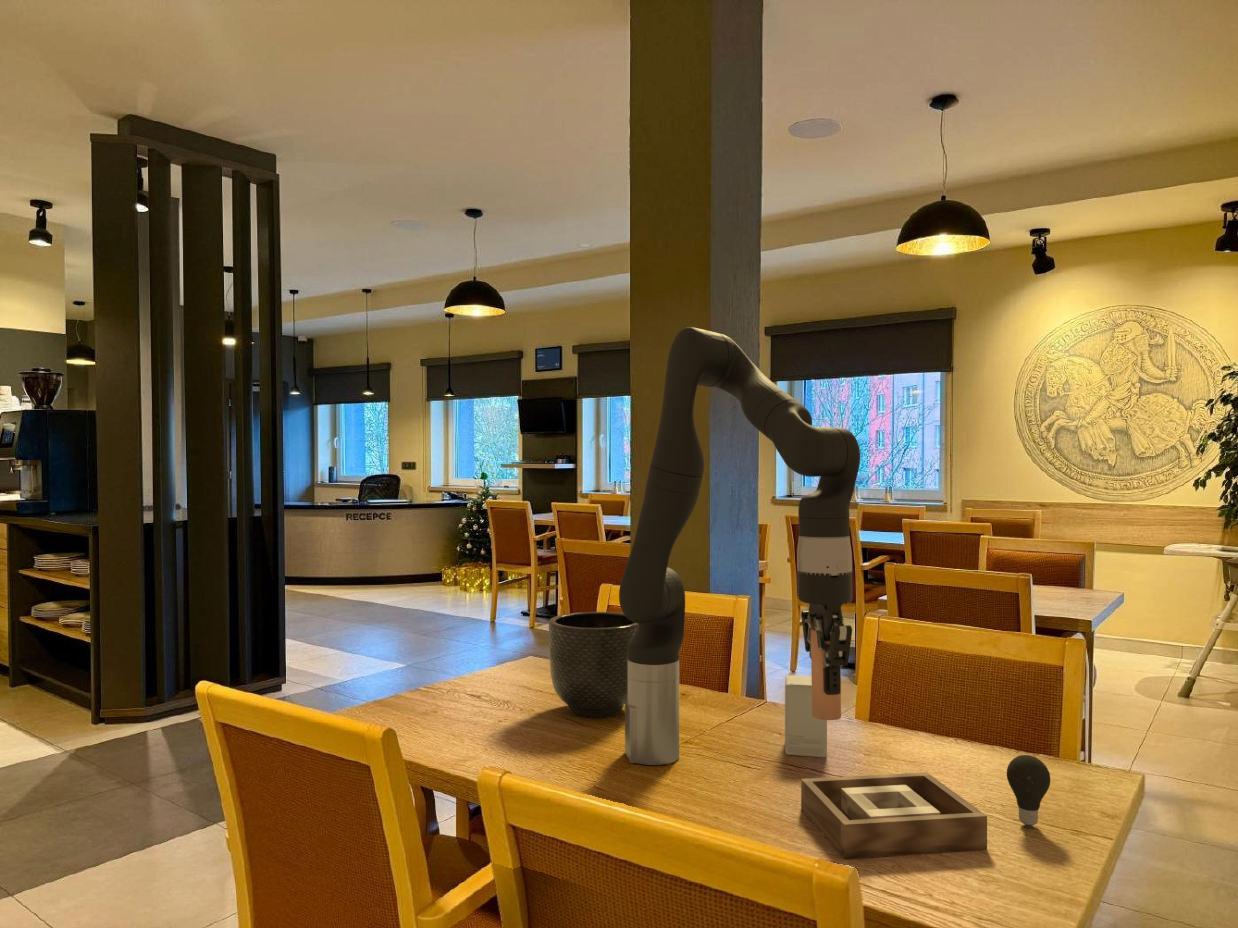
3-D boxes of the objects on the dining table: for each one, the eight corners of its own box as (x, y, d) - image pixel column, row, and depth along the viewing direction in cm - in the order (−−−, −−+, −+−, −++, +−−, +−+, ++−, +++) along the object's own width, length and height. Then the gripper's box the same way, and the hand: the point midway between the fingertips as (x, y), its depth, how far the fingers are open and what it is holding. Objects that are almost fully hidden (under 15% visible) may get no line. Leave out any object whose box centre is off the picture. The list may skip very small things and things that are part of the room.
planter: (660, 706, 178) (659, 616, 178) (609, 731, 161) (609, 632, 161) (584, 692, 188) (584, 608, 188) (529, 714, 172) (529, 622, 172)
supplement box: (827, 758, 146) (827, 686, 146) (784, 755, 148) (784, 683, 148) (825, 744, 154) (825, 675, 154) (784, 741, 155) (784, 673, 155)
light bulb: (998, 818, 121) (998, 749, 121) (1035, 816, 122) (1035, 748, 122) (1020, 835, 116) (1020, 763, 116) (1059, 833, 116) (1059, 762, 116)
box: (844, 858, 109) (844, 824, 109) (801, 808, 125) (801, 778, 125) (987, 849, 111) (987, 815, 111) (927, 801, 127) (927, 772, 127)
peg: (817, 720, 115) (817, 633, 115) (807, 712, 119) (807, 628, 119) (845, 719, 116) (844, 632, 116) (834, 711, 120) (833, 627, 120)
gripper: (782, 563, 124) (784, 678, 124) (816, 574, 110) (818, 704, 110) (831, 562, 125) (833, 676, 125) (871, 573, 111) (872, 702, 111)
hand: (826, 689), depth 118 cm, fingers closed on peg, 4 cm apart
